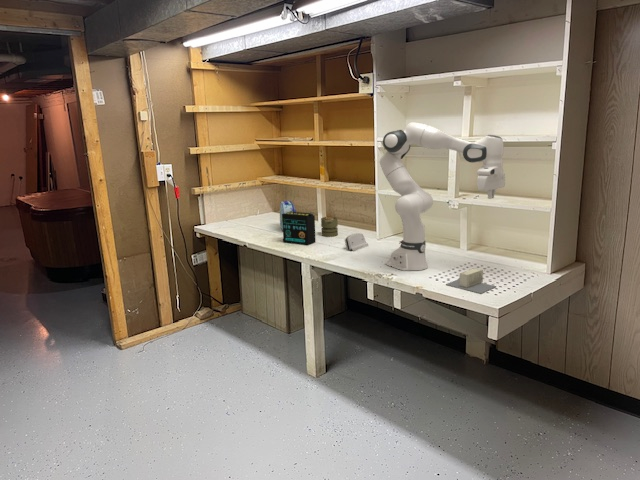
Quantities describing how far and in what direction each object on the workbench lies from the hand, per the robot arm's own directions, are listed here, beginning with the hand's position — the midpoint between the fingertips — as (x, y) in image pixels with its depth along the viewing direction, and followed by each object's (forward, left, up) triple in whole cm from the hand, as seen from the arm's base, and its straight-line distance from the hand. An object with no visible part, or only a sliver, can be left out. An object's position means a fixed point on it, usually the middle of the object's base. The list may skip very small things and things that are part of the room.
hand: (490, 198), depth 231 cm
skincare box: (+6, -17, -34) cm, 38 cm away
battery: (-121, -23, -37) cm, 129 cm away
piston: (-122, +5, -37) cm, 128 cm away
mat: (+6, -25, -37) cm, 45 cm away
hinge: (-83, -9, -38) cm, 92 cm away
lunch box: (-160, -2, -37) cm, 164 cm away
